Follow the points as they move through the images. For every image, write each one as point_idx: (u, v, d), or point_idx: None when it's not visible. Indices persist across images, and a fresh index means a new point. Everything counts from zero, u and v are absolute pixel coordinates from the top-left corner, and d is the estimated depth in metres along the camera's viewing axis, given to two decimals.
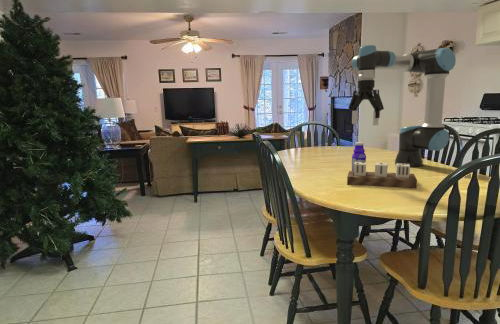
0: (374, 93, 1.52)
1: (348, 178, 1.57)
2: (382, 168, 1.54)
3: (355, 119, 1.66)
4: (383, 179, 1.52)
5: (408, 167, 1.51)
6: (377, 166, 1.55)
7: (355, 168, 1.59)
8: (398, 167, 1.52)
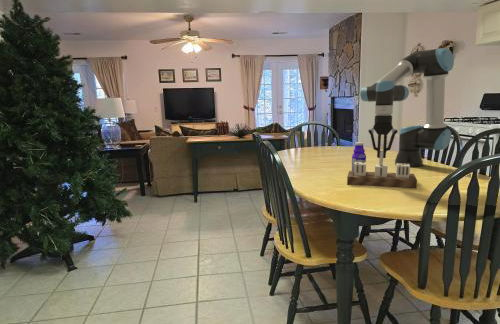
0: (394, 133, 1.51)
1: (348, 178, 1.57)
2: (382, 170, 1.55)
3: None
4: (383, 179, 1.52)
5: (408, 167, 1.51)
6: (377, 168, 1.55)
7: (355, 168, 1.59)
8: (398, 167, 1.52)
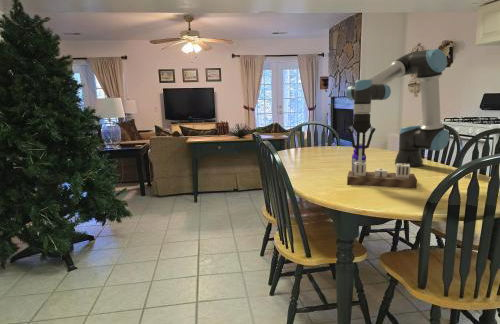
0: (372, 131, 1.54)
1: (348, 178, 1.57)
2: (382, 174, 1.55)
3: None
4: (383, 179, 1.52)
5: (408, 167, 1.51)
6: (377, 172, 1.56)
7: (355, 168, 1.59)
8: (398, 167, 1.52)
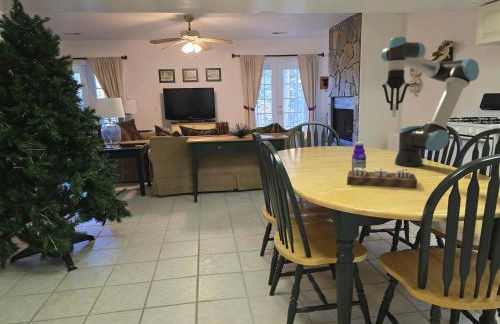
0: (406, 86, 1.65)
1: (348, 178, 1.57)
2: (382, 174, 1.55)
3: None
4: (383, 179, 1.52)
5: (408, 173, 1.51)
6: (377, 172, 1.56)
7: (355, 174, 1.59)
8: (398, 173, 1.53)
